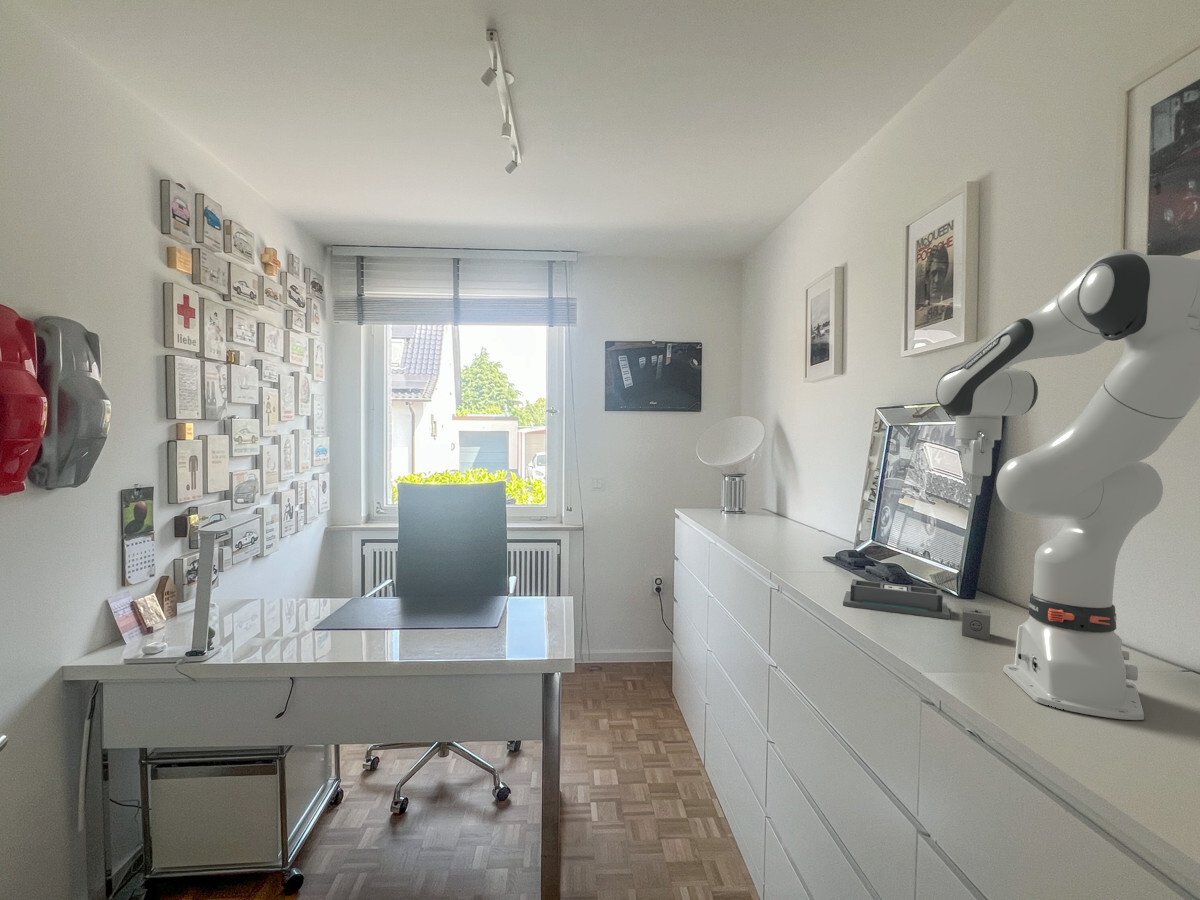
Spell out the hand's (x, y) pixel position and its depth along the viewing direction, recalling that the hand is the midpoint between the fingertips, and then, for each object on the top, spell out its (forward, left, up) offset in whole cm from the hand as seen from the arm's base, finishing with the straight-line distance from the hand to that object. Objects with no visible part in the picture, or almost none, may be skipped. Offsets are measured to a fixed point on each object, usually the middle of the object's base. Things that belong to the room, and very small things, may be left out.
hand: (974, 494), depth 144 cm
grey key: (+10, +15, -26) cm, 32 cm away
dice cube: (-6, -1, -29) cm, 30 cm away
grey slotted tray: (+10, +15, -29) cm, 34 cm away
